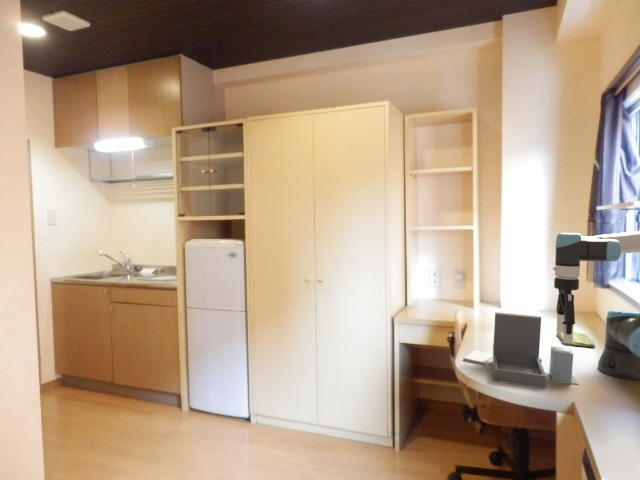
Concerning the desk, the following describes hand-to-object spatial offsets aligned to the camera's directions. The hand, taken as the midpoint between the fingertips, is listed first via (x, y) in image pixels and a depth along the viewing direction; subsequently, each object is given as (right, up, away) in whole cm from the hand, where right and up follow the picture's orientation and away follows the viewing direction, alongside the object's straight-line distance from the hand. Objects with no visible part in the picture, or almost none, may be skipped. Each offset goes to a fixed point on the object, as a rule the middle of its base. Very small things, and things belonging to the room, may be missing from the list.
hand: (564, 337), depth 157 cm
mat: (-1, -15, +1) cm, 15 cm away
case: (-14, -14, +5) cm, 21 cm away
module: (-1, -14, +1) cm, 15 cm away
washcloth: (+31, -13, +48) cm, 58 cm away
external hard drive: (-23, -14, +21) cm, 34 cm away
